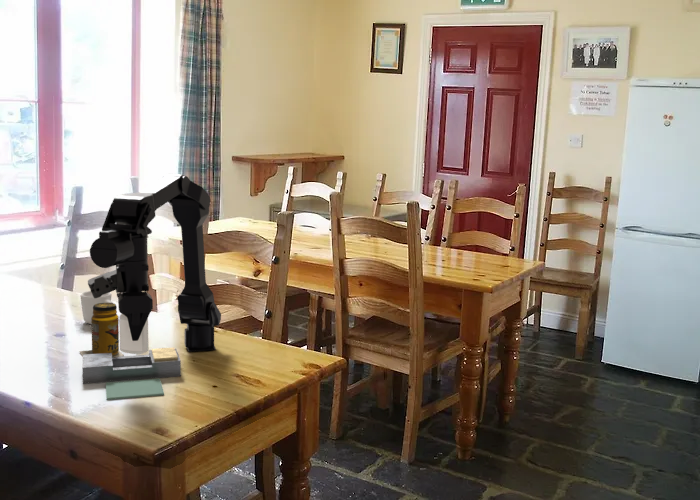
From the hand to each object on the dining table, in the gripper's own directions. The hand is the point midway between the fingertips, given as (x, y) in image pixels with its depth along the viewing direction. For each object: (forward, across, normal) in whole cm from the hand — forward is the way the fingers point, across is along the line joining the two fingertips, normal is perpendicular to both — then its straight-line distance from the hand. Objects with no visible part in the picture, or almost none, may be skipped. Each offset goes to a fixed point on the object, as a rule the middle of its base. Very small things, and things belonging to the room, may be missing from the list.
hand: (133, 334), depth 147 cm
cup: (+12, -53, -6) cm, 55 cm away
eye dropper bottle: (+4, 0, 0) cm, 4 cm away
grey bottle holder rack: (+12, -10, 0) cm, 16 cm away
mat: (+12, 0, 0) cm, 12 cm away
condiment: (+12, -25, -6) cm, 29 cm away
